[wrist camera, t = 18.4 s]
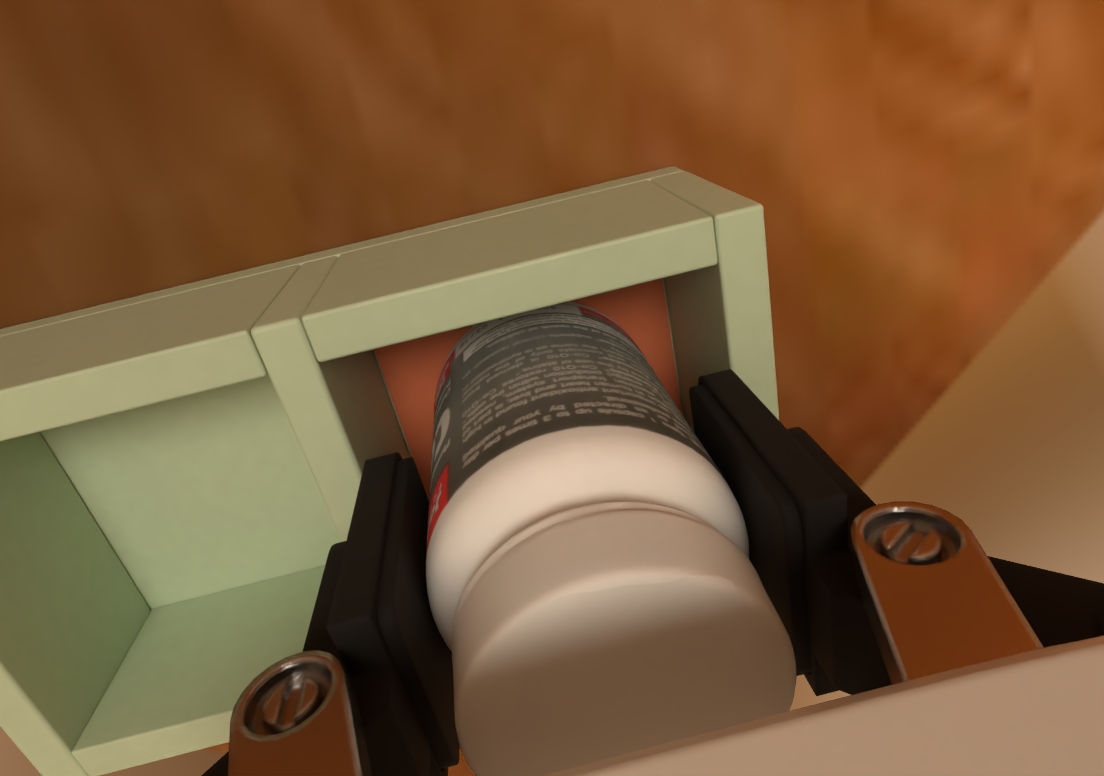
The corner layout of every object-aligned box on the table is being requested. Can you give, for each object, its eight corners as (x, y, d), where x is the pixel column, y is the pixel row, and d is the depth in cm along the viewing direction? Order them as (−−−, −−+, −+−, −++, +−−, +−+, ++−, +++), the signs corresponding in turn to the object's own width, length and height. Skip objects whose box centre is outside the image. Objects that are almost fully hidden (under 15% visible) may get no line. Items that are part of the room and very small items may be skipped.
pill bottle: (398, 342, 14) (334, 641, 7) (610, 261, 14) (784, 476, 7) (483, 514, 16) (506, 890, 9) (669, 445, 16) (853, 768, 9)
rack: (674, 164, 15) (764, 203, 11) (714, 473, 18) (794, 596, 14) (-30, 335, 14) (-237, 448, 10) (147, 616, 18) (50, 789, 14)
